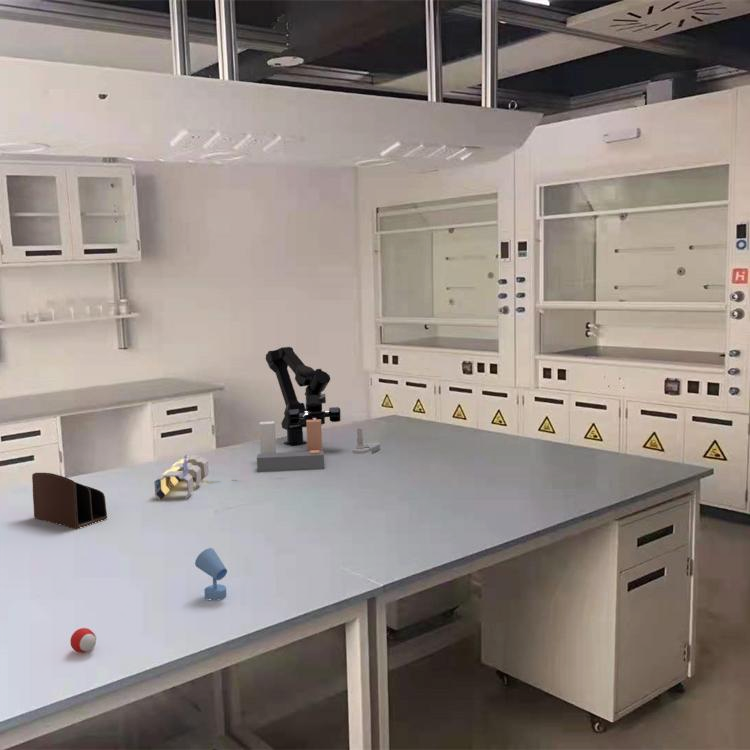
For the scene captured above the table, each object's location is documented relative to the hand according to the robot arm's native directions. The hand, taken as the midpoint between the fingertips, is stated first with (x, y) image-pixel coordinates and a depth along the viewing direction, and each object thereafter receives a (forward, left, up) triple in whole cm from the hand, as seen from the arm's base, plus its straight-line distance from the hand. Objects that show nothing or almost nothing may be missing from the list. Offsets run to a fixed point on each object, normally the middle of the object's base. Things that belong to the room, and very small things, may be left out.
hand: (315, 435), depth 281 cm
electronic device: (+5, +19, -9) cm, 22 cm away
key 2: (+5, -4, -8) cm, 10 cm away
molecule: (+88, -112, -9) cm, 142 cm away
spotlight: (+82, -83, -9) cm, 117 cm away
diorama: (0, -51, -9) cm, 52 cm away
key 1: (-4, -17, -7) cm, 19 cm away
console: (+4, -13, -9) cm, 16 cm away
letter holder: (+6, -88, -9) cm, 88 cm away
